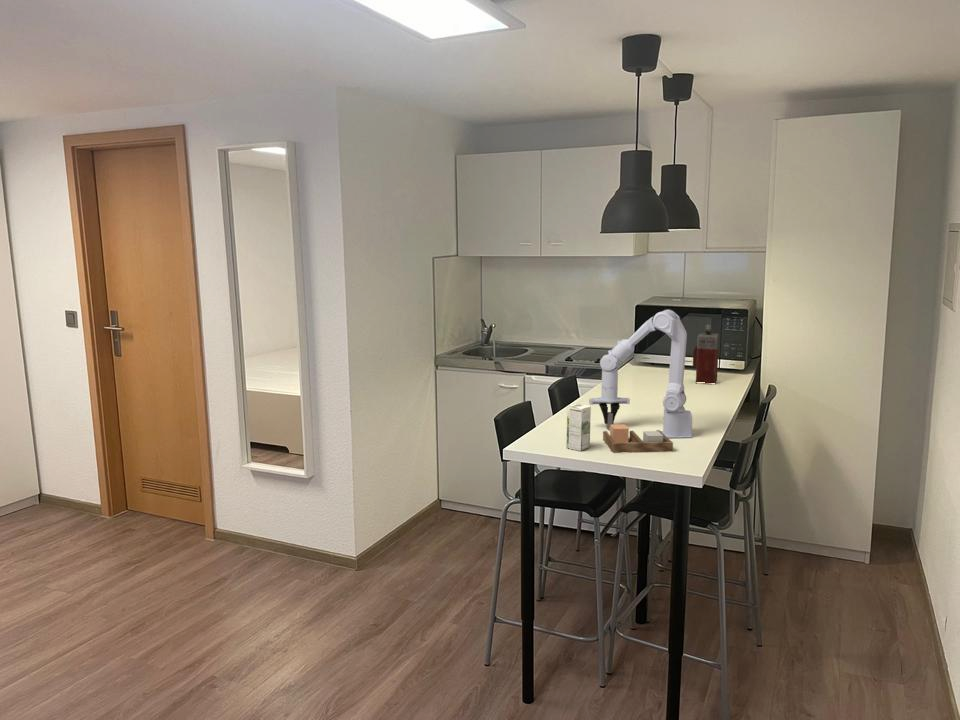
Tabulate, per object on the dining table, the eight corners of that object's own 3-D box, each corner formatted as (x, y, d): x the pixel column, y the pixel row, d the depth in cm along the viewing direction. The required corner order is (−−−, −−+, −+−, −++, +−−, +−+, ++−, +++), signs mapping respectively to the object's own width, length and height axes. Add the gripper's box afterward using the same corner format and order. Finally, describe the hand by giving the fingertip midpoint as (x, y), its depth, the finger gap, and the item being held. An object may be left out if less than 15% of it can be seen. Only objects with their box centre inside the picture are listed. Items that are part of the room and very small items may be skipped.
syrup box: (575, 445, 247) (575, 402, 244) (590, 447, 243) (591, 405, 241) (566, 448, 242) (566, 406, 240) (581, 451, 238) (581, 408, 236)
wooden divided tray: (659, 438, 253) (659, 430, 253) (672, 451, 237) (672, 442, 237) (603, 439, 253) (603, 431, 252) (612, 452, 237) (612, 443, 236)
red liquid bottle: (693, 379, 360) (695, 323, 355) (717, 381, 355) (719, 324, 351) (690, 383, 351) (692, 325, 347) (715, 384, 347) (717, 326, 343)
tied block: (615, 427, 268) (615, 411, 267) (628, 442, 248) (628, 425, 247) (601, 428, 268) (602, 412, 267) (613, 443, 248) (614, 426, 247)
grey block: (657, 445, 245) (658, 431, 244) (662, 450, 239) (663, 435, 239) (643, 445, 245) (643, 431, 244) (647, 450, 239) (647, 436, 238)
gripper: (626, 384, 270) (626, 420, 272) (587, 385, 269) (587, 420, 271) (631, 388, 263) (630, 424, 265) (591, 388, 262) (590, 425, 264)
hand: (608, 423), depth 268 cm, fingers closed on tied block
